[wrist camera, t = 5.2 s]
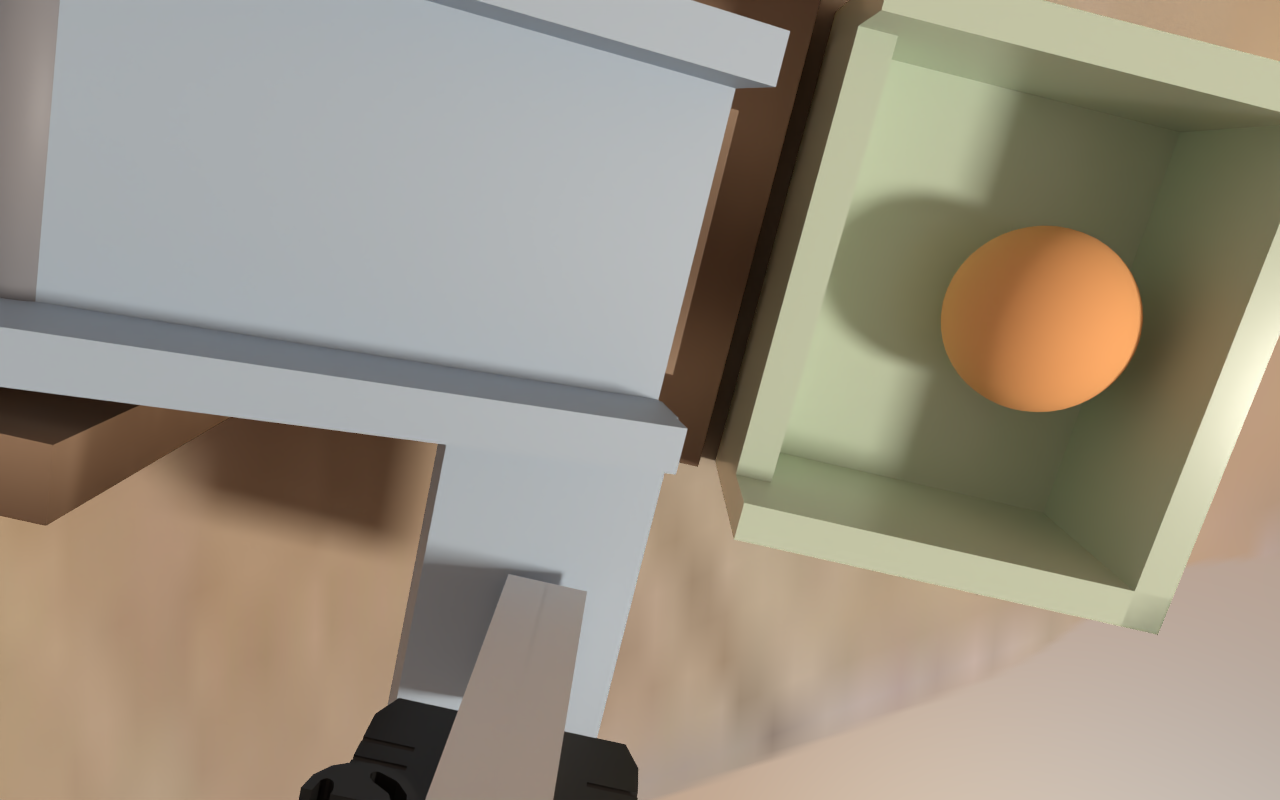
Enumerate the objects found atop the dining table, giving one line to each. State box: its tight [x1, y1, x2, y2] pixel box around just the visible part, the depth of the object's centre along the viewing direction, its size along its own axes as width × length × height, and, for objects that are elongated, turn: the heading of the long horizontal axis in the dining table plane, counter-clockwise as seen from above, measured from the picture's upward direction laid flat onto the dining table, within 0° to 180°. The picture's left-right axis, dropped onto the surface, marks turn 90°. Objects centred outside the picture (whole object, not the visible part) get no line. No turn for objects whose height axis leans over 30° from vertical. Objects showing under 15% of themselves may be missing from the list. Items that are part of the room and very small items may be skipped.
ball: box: [941, 226, 1143, 412], centre depth 20 cm, size 4×4×4 cm
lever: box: [0, 0, 790, 738], centre depth 13 cm, size 14×20×4 cm
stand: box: [0, 0, 821, 526], centre depth 17 cm, size 11×23×11 cm, turn 77°
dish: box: [715, 0, 1280, 635], centre depth 20 cm, size 11×9×5 cm
